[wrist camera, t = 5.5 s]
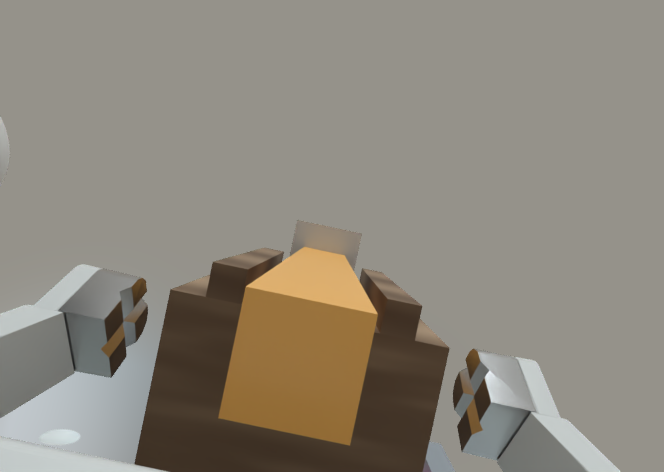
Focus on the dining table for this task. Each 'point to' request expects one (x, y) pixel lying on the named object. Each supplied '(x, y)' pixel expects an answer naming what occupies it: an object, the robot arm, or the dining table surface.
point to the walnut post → (272, 445)
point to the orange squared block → (303, 341)
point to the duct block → (437, 459)
